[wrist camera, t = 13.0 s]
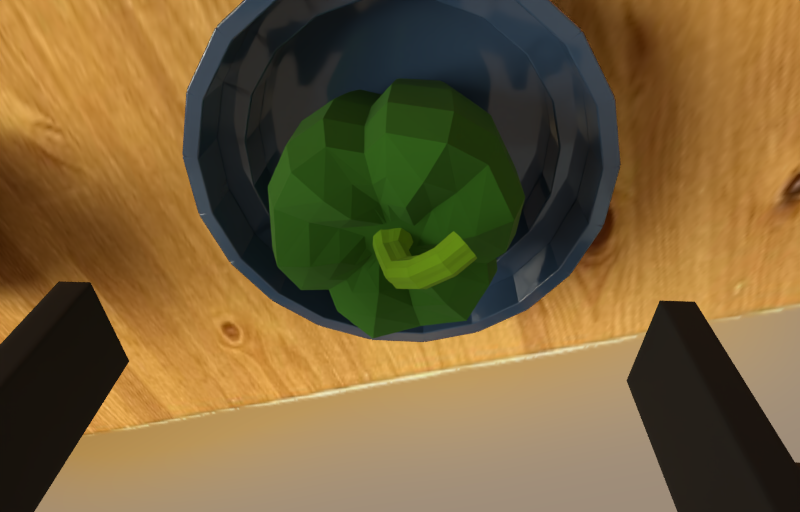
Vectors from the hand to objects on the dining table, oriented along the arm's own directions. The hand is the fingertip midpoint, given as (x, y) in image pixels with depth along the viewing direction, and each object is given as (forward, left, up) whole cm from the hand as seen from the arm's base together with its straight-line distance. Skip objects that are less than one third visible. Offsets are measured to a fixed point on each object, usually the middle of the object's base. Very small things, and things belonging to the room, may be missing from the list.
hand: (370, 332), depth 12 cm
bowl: (0, 0, -12) cm, 12 cm away
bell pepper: (0, 0, -12) cm, 12 cm away
